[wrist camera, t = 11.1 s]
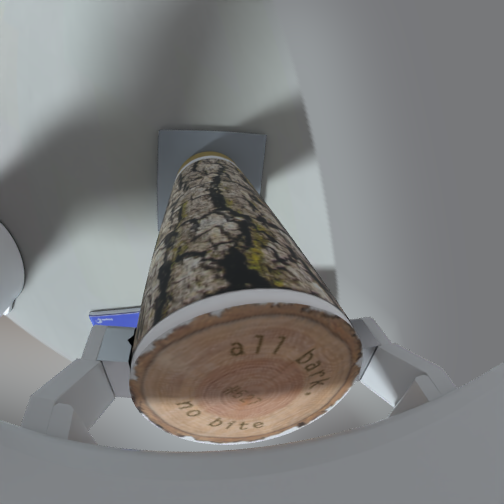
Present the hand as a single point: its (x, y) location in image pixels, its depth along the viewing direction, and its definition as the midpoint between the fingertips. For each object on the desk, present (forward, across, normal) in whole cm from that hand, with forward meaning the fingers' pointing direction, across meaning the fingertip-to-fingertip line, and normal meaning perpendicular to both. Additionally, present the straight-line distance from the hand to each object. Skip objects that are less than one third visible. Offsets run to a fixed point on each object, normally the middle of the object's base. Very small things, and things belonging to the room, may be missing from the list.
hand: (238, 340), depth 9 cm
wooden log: (+23, 0, 0) cm, 23 cm away
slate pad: (+24, 0, 0) cm, 24 cm away
